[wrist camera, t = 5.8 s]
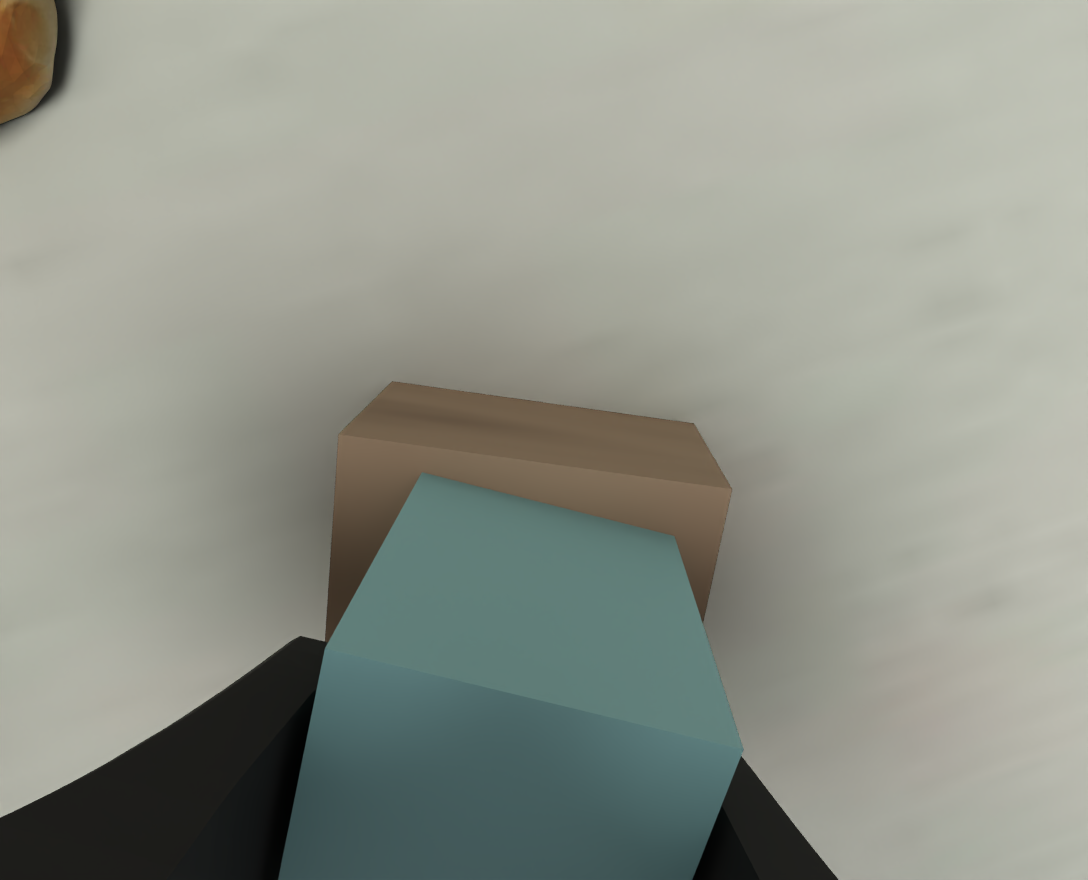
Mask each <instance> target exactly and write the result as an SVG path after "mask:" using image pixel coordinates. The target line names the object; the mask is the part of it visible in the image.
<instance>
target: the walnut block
mask: <svg viewBox="0 0 1088 880" xmlns="http://www.w3.org/2000/svg"><path fill="white" fill-rule="evenodd" d="M422 472H423V473H427V474H431V475H435V476H439V477H443V478H447V479H451V480H455V481H459V482H463V483H466V484H470V485H474V486H478V487H482V488H486V489H490V490H494V491H498V492H502V493H506V494H510V495H514V496H518V497H522V498H526V499H530V500H534V501H538V502H542V503H546V504H549V505H553V506H557V507H561V508H565V509H569V510H573V511H577V512H581V513H585V514H589V515H593V516H597V517H601V518H605V519H609V520H613V521H617V522H621V523H625V524H629V525H632V526H636V527H640V528H644V529H648V530H652V531H656V532H660V533H664V534H668V535H672V536H674V537H675V540H676V543H677V546H678V549H679V552H680V555H681V558H682V561H683V564H684V567H685V570H686V574H687V577H688V580H689V583H690V586H691V589H692V592H693V595H694V598H695V601H696V604H697V608H698V611H699V614H700V617H701V620H702V623H703V620H704V616H705V611H706V607H707V602H708V597H709V593H710V588H711V584H712V579H713V574H714V570H715V565H716V561H717V556H718V552H719V547H720V542H721V538H722V533H723V529H724V524H725V520H726V515H727V510H728V506H729V501H730V497H731V492H732V488H731V486H730V485H729V483H728V481H727V480H726V478H725V476H724V474H723V473H722V471H721V469H720V468H719V466H718V464H717V462H716V461H715V459H714V457H713V456H712V454H711V452H710V450H709V449H708V447H707V445H706V444H705V442H704V440H703V438H702V437H701V435H700V433H699V432H698V430H697V428H696V426H695V425H694V424H693V423H686V422H679V421H672V420H665V419H657V418H650V417H643V416H636V415H629V414H622V413H615V412H607V411H600V410H593V409H586V408H579V407H572V406H564V405H557V404H550V403H543V402H536V401H529V400H522V399H514V398H507V397H500V396H493V395H486V394H479V393H471V392H464V391H457V390H450V389H443V388H436V387H429V386H421V385H414V384H407V383H400V382H393V381H392V382H391V383H390V384H389V385H388V386H387V387H386V388H385V389H384V390H383V391H382V392H381V393H380V394H379V395H378V396H377V397H376V398H375V399H374V400H373V401H372V402H371V403H370V404H369V405H368V406H367V407H366V408H365V409H364V410H363V411H362V412H361V413H360V414H359V415H358V416H357V417H356V418H355V419H353V420H352V421H351V422H350V423H349V424H348V425H347V426H346V427H345V428H344V429H343V430H342V431H341V432H340V433H339V435H338V450H337V465H336V481H335V496H334V511H333V527H332V542H331V558H330V573H329V588H328V604H327V619H326V634H325V642H329V640H330V638H331V637H332V635H333V633H334V631H335V629H336V627H337V626H338V624H339V622H340V620H341V618H342V617H343V615H344V613H345V611H346V609H347V607H348V606H349V604H350V602H351V600H352V598H353V597H354V595H355V593H356V591H357V589H358V587H359V586H360V584H361V582H362V580H363V578H364V577H365V575H366V573H367V571H368V569H369V567H370V566H371V564H372V562H373V560H374V558H375V557H376V555H377V553H378V551H379V549H380V547H381V546H382V544H383V542H384V540H385V538H386V537H387V535H388V533H389V531H390V529H391V527H392V526H393V524H394V522H395V520H396V518H397V517H398V515H399V513H400V511H401V509H402V507H403V506H404V504H405V502H406V500H407V498H408V497H409V495H410V493H411V491H412V489H413V488H414V486H415V484H416V482H417V480H418V478H419V477H420V475H421V473H422Z"/></svg>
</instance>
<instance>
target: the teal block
mask: <svg viewBox="0 0 1088 880" xmlns="http://www.w3.org/2000/svg"><path fill="white" fill-rule="evenodd" d="M743 750H744V749H743V746H742V743H741V740H740V737H739V734H738V731H737V728H736V725H735V722H734V719H733V715H732V712H731V709H730V706H729V703H728V700H727V697H726V694H725V691H724V688H723V685H722V682H721V678H720V675H719V672H718V669H717V666H716V663H715V660H714V657H713V654H712V651H711V648H710V645H709V641H708V638H707V635H706V632H705V629H704V626H703V623H702V620H701V617H700V614H699V611H698V608H697V604H696V601H695V598H694V595H693V592H692V589H691V586H690V583H689V580H688V577H687V574H686V570H685V567H684V564H683V561H682V558H681V555H680V552H679V549H678V546H677V543H676V540H675V537H674V536H672V535H668V534H664V533H660V532H656V531H652V530H648V529H644V528H640V527H636V526H632V525H629V524H625V523H621V522H617V521H613V520H609V519H605V518H601V517H597V516H593V515H589V514H585V513H581V512H577V511H573V510H569V509H565V508H561V507H557V506H553V505H549V504H546V503H542V502H538V501H534V500H530V499H526V498H522V497H518V496H514V495H510V494H506V493H502V492H498V491H494V490H490V489H486V488H482V487H478V486H474V485H470V484H466V483H463V482H459V481H455V480H451V479H447V478H443V477H439V476H435V475H431V474H427V473H423V472H422V473H421V475H420V477H419V478H418V480H417V482H416V484H415V486H414V488H413V489H412V491H411V493H410V495H409V497H408V498H407V500H406V502H405V504H404V506H403V507H402V509H401V511H400V513H399V515H398V517H397V518H396V520H395V522H394V524H393V526H392V527H391V529H390V531H389V533H388V535H387V537H386V538H385V540H384V542H383V544H382V546H381V547H380V549H379V551H378V553H377V555H376V557H375V558H374V560H373V562H372V564H371V566H370V567H369V569H368V571H367V573H366V575H365V577H364V578H363V580H362V582H361V584H360V586H359V587H358V589H357V591H356V593H355V595H354V597H353V598H352V600H351V602H350V604H349V606H348V607H347V609H346V611H345V613H344V615H343V617H342V618H341V620H340V622H339V624H338V626H337V627H336V629H335V631H334V633H333V635H332V637H331V638H330V640H329V642H328V644H327V646H326V647H325V651H324V656H323V661H322V666H321V671H320V675H319V680H318V685H317V690H316V695H315V700H314V705H313V710H312V715H311V720H310V725H309V730H308V735H307V740H306V745H305V749H304V754H303V759H302V764H301V769H300V774H299V779H298V784H297V789H296V794H295V799H294V804H293V809H292V814H291V819H290V824H289V828H288V833H287V838H286V843H285V848H284V853H283V858H282V863H281V868H280V873H279V878H278V880H692V879H693V876H694V874H695V871H696V869H697V866H698V864H699V861H700V859H701V856H702V854H703V851H704V849H705V846H706V844H707V841H708V838H709V836H710V833H711V831H712V828H713V826H714V823H715V821H716V818H717V816H718V813H719V811H720V808H721V805H722V803H723V800H724V798H725V795H726V793H727V790H728V788H729V785H730V783H731V780H732V778H733V775H734V772H735V770H736V767H737V765H738V762H739V760H740V757H741V755H742V752H743Z"/></svg>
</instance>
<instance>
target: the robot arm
mask: <svg viewBox="0 0 1088 880" xmlns="http://www.w3.org/2000/svg"><path fill="white" fill-rule="evenodd" d="M327 644H328V642H323V641H319V640H315V639H311V638H307V637H302V636H300V637H298V638H296V639H294V640H292V641H291V642H289V643H288V644H286V645H285V646H284V647H282V648H281V649H279V650H278V651H277V652H275V653H274V654H273V655H271V656H270V657H269V658H267V659H266V660H265V661H263V662H262V663H261V664H259V665H258V666H256V667H255V668H254V669H252V670H251V671H250V672H248V673H247V674H245V675H244V676H243V677H241V678H240V679H238V680H237V681H235V682H234V683H233V684H231V685H230V686H228V687H227V688H226V689H224V690H223V691H221V692H220V693H218V694H217V695H215V696H214V697H212V698H211V699H209V700H208V701H206V702H205V703H203V704H202V705H200V706H199V707H197V708H196V709H194V710H193V711H191V712H190V713H188V714H187V715H185V716H184V717H182V718H181V719H179V720H178V721H176V722H174V723H173V724H171V725H170V726H168V727H167V728H165V729H163V730H162V731H160V732H158V733H157V734H155V735H153V736H152V737H150V738H148V739H146V740H145V741H143V742H141V743H140V744H138V745H136V746H135V747H133V748H131V749H130V750H128V751H126V752H125V753H123V754H121V755H120V756H118V757H116V758H115V759H113V760H111V761H110V762H108V763H106V764H104V765H103V766H101V767H99V768H97V769H95V770H94V771H92V772H90V773H88V774H86V775H84V776H83V777H81V778H79V779H77V780H75V781H73V782H71V783H70V784H68V785H66V786H64V787H62V788H60V789H58V790H56V791H54V792H52V793H50V794H48V795H46V796H44V797H42V798H40V799H38V800H36V801H34V802H32V803H30V804H28V805H26V806H24V807H22V808H20V809H18V810H16V811H14V812H12V813H10V814H8V815H5V816H3V817H1V818H0V880H278V878H279V873H280V868H281V863H282V858H283V853H284V848H285V843H286V838H287V833H288V828H289V824H290V819H291V814H292V809H293V804H294V799H295V794H296V789H297V784H298V779H299V774H300V769H301V764H302V759H303V754H304V749H305V745H306V740H307V735H308V730H309V725H310V720H311V715H312V710H313V705H314V700H315V695H316V690H317V685H318V680H319V675H320V671H321V666H322V661H323V656H324V651H325V647H326V646H327ZM692 880H838V879H837V877H836V876H835V875H834V874H833V873H832V871H831V870H830V869H829V868H828V866H827V865H826V864H825V863H824V861H823V860H822V859H821V858H820V857H819V855H818V854H817V853H816V852H815V850H814V849H813V848H812V847H811V845H810V844H809V843H808V842H807V840H806V839H805V838H804V836H803V835H802V834H801V833H800V831H799V830H798V829H797V828H796V826H795V825H794V824H793V822H792V821H791V820H790V819H789V817H788V816H787V815H786V813H785V812H784V811H783V810H782V808H781V807H780V806H779V804H778V803H777V802H776V800H775V799H774V798H773V796H772V795H771V794H770V793H769V791H768V790H767V789H766V787H765V786H764V785H763V783H762V782H761V781H760V780H759V778H758V777H757V776H756V774H755V773H754V772H753V770H752V769H751V768H750V767H749V765H748V764H747V763H746V761H745V760H744V759H743V758H742V756H741V757H740V760H739V762H738V765H737V767H736V770H735V772H734V775H733V778H732V780H731V783H730V785H729V788H728V790H727V793H726V795H725V798H724V800H723V803H722V805H721V808H720V811H719V813H718V816H717V818H716V821H715V823H714V826H713V828H712V831H711V833H710V836H709V838H708V841H707V844H706V846H705V849H704V851H703V854H702V856H701V859H700V861H699V864H698V866H697V869H696V871H695V874H694V876H693V879H692Z"/></svg>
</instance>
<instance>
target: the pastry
mask: <svg viewBox="0 0 1088 880" xmlns="http://www.w3.org/2000/svg"><path fill="white" fill-rule="evenodd" d="M57 29H58V27H57V11H56V7H55V2H54V0H0V124H1V123H4V122H6V121H9V120H12V119H14V118H17V117H19V116H22V115H25V114H26V113H28V112H29V111H31V110H32V109H33V108H35V107H36V106H37V104H38V103H39V102H40V100H41V99H42V98H43V96H44V95H45V94H46V93H47V91H48V90H49V89H50V87H51V83H52V77H53V63H54V56H55V50H56V45H57Z"/></svg>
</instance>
